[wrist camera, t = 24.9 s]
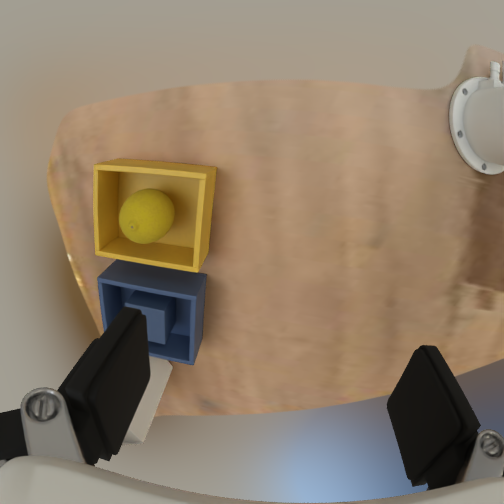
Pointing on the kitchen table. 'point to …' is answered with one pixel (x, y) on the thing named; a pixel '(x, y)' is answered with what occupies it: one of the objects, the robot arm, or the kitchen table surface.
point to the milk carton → (148, 401)
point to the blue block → (155, 313)
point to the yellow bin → (182, 196)
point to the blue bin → (164, 283)
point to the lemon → (146, 216)
